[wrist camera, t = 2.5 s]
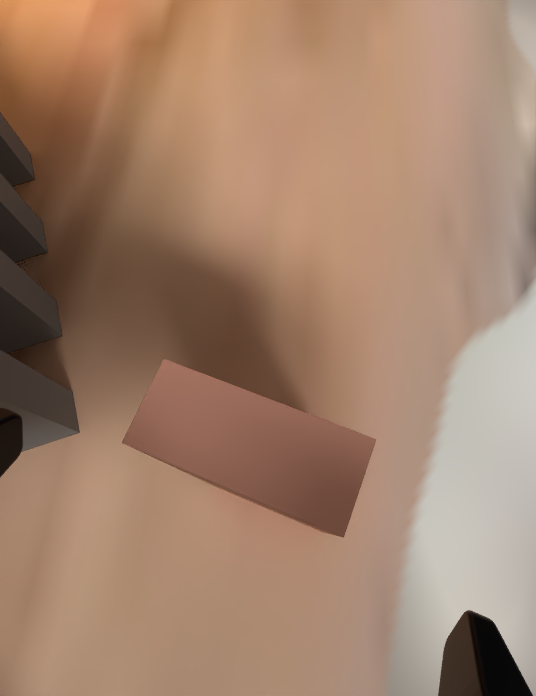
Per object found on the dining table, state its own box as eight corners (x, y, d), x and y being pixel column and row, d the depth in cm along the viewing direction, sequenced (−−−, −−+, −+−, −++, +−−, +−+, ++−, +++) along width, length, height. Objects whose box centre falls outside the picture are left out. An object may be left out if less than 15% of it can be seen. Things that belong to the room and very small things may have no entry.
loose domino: (322, 532, 18) (343, 536, 8) (213, 485, 18) (121, 442, 9) (338, 484, 18) (376, 439, 9) (232, 441, 19) (163, 358, 10)
